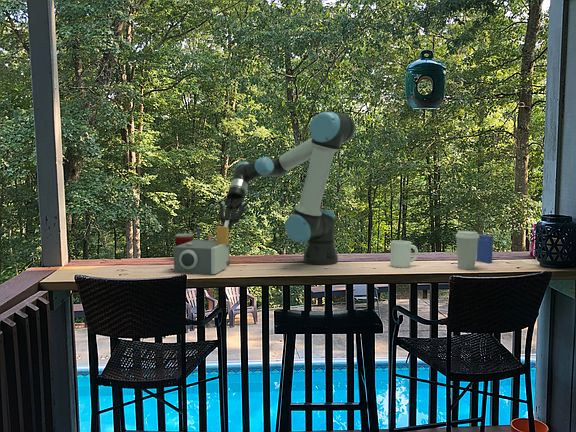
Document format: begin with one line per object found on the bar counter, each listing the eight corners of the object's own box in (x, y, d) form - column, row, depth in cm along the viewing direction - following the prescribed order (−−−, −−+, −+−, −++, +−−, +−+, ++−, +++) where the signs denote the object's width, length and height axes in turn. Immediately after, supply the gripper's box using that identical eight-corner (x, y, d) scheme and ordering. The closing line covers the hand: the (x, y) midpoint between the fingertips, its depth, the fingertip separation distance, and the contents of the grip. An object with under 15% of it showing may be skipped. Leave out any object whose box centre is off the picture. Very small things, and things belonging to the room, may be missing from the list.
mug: (414, 263, 242) (415, 240, 241) (421, 267, 233) (422, 242, 232) (387, 264, 240) (388, 240, 239) (394, 268, 232) (394, 243, 231)
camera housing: (229, 264, 237) (229, 239, 236) (210, 275, 216) (210, 247, 215) (194, 262, 241) (193, 238, 240) (172, 272, 220) (171, 245, 219)
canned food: (197, 258, 251) (196, 234, 250) (182, 261, 245) (182, 236, 244) (186, 256, 256) (186, 232, 255) (172, 259, 250) (171, 234, 249)
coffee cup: (449, 266, 235) (450, 231, 234) (467, 265, 239) (468, 230, 237) (464, 270, 226) (466, 234, 225) (483, 269, 230) (484, 233, 229)
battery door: (228, 267, 228) (228, 226, 226) (217, 274, 215) (216, 230, 214) (218, 267, 229) (218, 226, 227) (206, 273, 216) (206, 230, 215)
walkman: (492, 262, 245) (493, 235, 244) (488, 263, 244) (489, 235, 242) (476, 259, 251) (477, 233, 250) (472, 260, 250) (473, 233, 248)
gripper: (253, 197, 244) (241, 241, 230) (225, 197, 247) (211, 239, 233) (249, 186, 239) (237, 229, 224) (220, 185, 242) (206, 228, 227)
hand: (224, 234), depth 228 cm, fingers closed
